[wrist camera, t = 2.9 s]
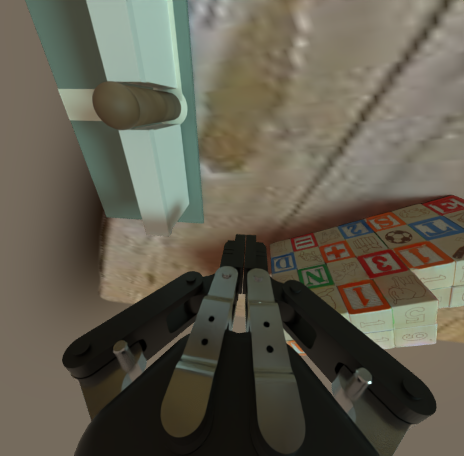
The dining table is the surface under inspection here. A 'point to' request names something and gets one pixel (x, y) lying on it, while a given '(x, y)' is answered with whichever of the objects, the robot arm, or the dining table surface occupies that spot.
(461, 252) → the stack of blocks
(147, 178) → the panel
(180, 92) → the board
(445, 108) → the dining table surface
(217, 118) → the dining table surface
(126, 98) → the brown rounded rod
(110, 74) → the panel
